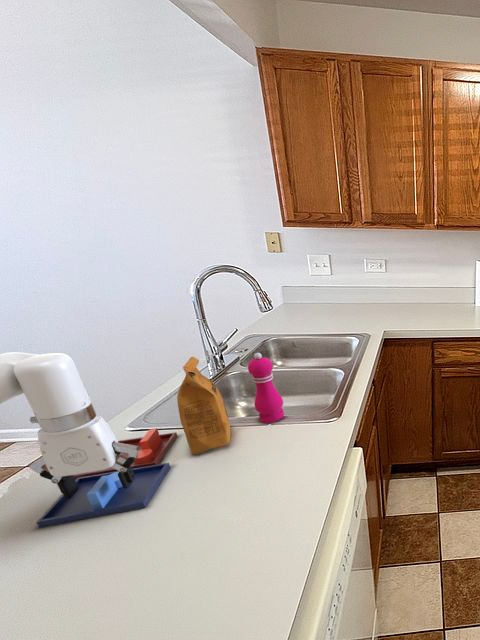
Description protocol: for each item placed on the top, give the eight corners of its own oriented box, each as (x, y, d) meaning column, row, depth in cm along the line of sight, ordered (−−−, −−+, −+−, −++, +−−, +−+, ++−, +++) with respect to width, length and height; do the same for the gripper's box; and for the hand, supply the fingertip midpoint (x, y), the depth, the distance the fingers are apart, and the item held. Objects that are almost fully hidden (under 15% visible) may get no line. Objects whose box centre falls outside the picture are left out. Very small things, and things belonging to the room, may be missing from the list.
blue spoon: (109, 507, 81) (102, 491, 79) (86, 511, 79) (79, 496, 78) (132, 476, 89) (126, 462, 88) (112, 480, 88) (105, 465, 87)
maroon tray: (65, 483, 88) (63, 477, 88) (98, 448, 100) (96, 443, 100) (157, 467, 93) (155, 462, 92) (177, 436, 105) (176, 432, 104)
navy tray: (38, 528, 76) (35, 522, 76) (80, 482, 88) (77, 477, 88) (145, 507, 81) (143, 502, 81) (170, 467, 93) (168, 462, 93)
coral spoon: (149, 443, 101) (144, 429, 100) (167, 440, 103) (162, 427, 101) (131, 466, 93) (125, 452, 91) (150, 463, 94) (145, 449, 92)
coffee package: (236, 424, 110) (215, 351, 102) (233, 447, 100) (210, 368, 92) (193, 433, 106) (168, 357, 98) (186, 458, 96) (157, 376, 88)
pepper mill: (252, 422, 112) (235, 356, 104) (270, 409, 118) (255, 347, 110) (274, 425, 110) (258, 359, 102) (291, 412, 116) (278, 349, 109)
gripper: (-6, 436, 70) (36, 511, 76) (113, 419, 74) (143, 492, 81) (24, 415, 76) (60, 486, 83) (132, 401, 81) (158, 469, 88)
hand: (101, 489), depth 82 cm, fingers open, 9 cm apart
